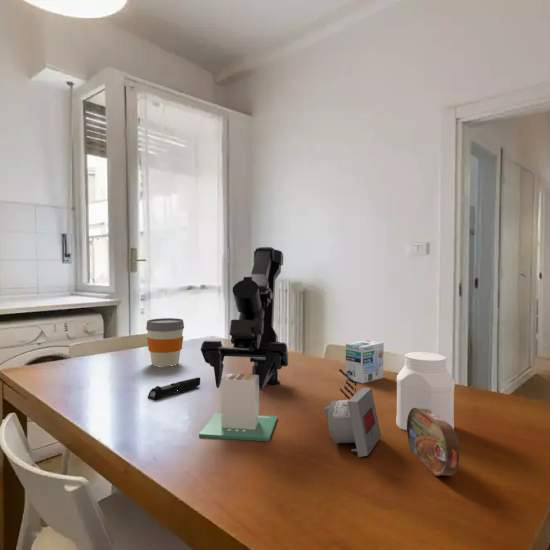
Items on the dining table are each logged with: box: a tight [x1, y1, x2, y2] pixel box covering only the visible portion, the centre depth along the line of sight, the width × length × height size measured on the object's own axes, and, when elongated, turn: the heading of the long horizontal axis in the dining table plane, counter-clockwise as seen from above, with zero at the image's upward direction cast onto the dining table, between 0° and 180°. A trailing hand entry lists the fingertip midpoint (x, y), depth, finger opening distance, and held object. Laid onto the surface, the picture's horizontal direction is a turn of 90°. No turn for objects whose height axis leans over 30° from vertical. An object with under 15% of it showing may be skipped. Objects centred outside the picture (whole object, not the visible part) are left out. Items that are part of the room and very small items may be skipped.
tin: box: [406, 408, 461, 477], centre depth 72 cm, size 15×3×8 cm, turn 5°
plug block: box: [220, 373, 260, 430], centre depth 87 cm, size 4×7×10 cm, turn 82°
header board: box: [198, 412, 278, 442], centre depth 87 cm, size 12×14×4 cm
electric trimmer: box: [147, 376, 201, 401], centre depth 111 cm, size 4×16×3 cm, turn 139°
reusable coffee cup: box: [145, 317, 185, 367], centre depth 142 cm, size 13×13×15 cm
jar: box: [395, 351, 456, 431], centre depth 88 cm, size 12×10×15 cm
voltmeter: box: [323, 368, 382, 458], centre depth 86 cm, size 27×11×10 cm, turn 7°
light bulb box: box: [345, 339, 385, 384], centre depth 125 cm, size 11×7×11 cm, turn 131°
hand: (239, 388), depth 86 cm, fingers open, 9 cm apart
